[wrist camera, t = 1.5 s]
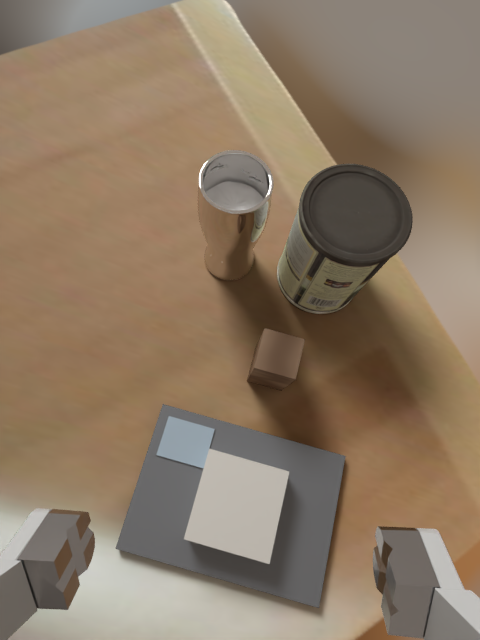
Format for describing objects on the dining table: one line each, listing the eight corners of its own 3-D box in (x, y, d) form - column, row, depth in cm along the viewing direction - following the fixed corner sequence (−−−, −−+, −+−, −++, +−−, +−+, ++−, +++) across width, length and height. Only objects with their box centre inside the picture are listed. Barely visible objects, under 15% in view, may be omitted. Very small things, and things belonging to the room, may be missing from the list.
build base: (117, 546, 38) (107, 557, 34) (164, 405, 43) (159, 401, 39) (316, 603, 38) (327, 621, 34) (342, 455, 42) (355, 457, 38)
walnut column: (246, 380, 44) (254, 367, 36) (255, 347, 45) (264, 328, 38) (281, 390, 44) (295, 379, 36) (289, 356, 45) (304, 339, 38)
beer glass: (209, 227, 50) (208, 139, 35) (262, 241, 49) (283, 158, 35) (194, 276, 47) (186, 203, 33) (249, 290, 47) (266, 224, 33)
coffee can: (337, 228, 51) (382, 151, 37) (371, 299, 48) (433, 243, 35) (263, 251, 49) (282, 178, 36) (294, 325, 46) (328, 277, 33)
